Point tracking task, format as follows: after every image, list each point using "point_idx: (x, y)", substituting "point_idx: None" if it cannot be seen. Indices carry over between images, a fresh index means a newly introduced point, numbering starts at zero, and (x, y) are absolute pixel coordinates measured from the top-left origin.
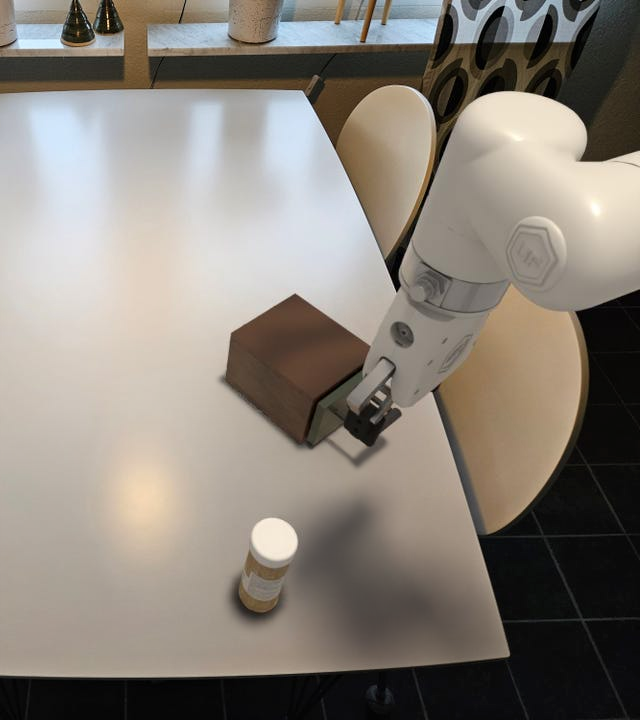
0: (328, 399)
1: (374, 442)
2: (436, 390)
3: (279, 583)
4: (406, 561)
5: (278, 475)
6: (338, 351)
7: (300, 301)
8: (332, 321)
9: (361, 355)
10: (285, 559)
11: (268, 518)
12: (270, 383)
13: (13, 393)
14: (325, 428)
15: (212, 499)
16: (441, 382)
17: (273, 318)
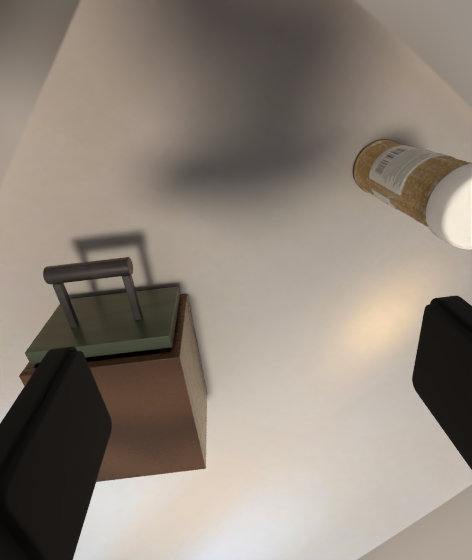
0: (152, 344)
1: (460, 307)
2: (58, 349)
3: (433, 152)
4: (180, 79)
5: (241, 274)
6: None
7: None
8: None
9: None
10: None
11: (458, 246)
12: (194, 387)
13: (389, 453)
14: (157, 300)
15: (327, 288)
16: (31, 383)
17: (137, 466)
